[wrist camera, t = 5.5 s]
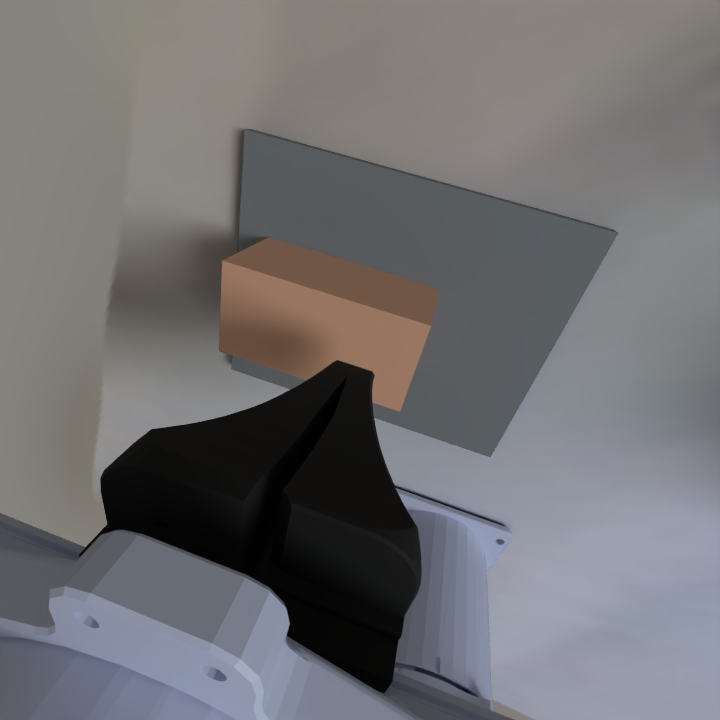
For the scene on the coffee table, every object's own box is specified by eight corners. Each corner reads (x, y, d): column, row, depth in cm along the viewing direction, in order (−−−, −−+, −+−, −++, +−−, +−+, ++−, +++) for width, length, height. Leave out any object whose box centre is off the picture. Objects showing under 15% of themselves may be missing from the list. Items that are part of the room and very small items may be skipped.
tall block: (400, 411, 16) (219, 351, 17) (412, 363, 19) (261, 314, 20) (431, 325, 14) (222, 260, 14) (439, 288, 17) (269, 237, 18)
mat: (489, 449, 21) (490, 457, 21) (236, 363, 23) (231, 369, 22) (613, 229, 15) (618, 232, 14) (251, 129, 16) (244, 129, 16)
